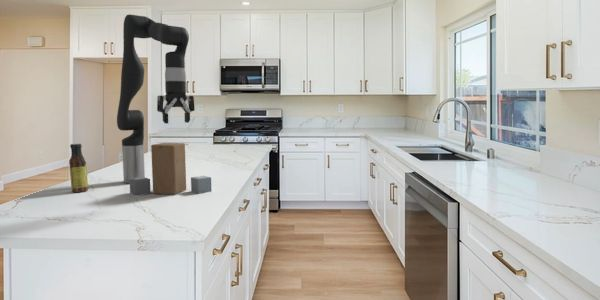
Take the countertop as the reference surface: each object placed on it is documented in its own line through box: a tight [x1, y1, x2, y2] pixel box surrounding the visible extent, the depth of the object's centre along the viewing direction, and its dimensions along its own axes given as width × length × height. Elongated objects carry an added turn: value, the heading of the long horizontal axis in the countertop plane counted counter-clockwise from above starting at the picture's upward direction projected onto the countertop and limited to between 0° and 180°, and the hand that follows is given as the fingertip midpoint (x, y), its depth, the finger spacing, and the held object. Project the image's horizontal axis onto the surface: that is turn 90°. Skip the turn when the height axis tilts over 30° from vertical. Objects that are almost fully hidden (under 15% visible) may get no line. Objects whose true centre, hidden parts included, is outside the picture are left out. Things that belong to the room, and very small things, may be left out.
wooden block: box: [150, 142, 187, 196], centre depth 175 cm, size 10×10×20 cm
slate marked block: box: [190, 175, 212, 194], centre depth 177 cm, size 6×6×6 cm
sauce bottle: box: [68, 143, 89, 193], centre depth 177 cm, size 6×6×20 cm
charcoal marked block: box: [129, 176, 151, 196], centre depth 174 cm, size 6×6×6 cm
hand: (176, 122), depth 164 cm, fingers open, 8 cm apart
